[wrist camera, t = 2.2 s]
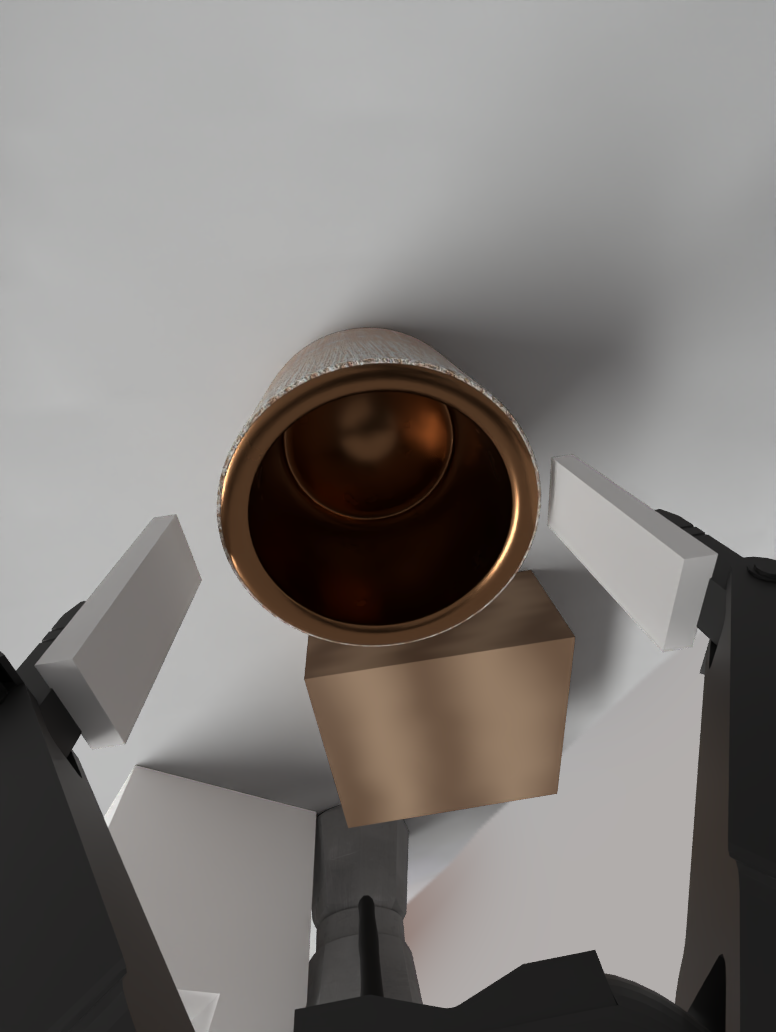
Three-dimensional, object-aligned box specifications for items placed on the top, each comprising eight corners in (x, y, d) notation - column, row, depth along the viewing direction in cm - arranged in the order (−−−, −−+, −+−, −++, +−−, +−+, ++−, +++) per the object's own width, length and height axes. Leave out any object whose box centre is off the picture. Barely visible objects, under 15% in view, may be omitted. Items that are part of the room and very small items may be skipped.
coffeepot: (401, 864, 43) (435, 1198, 27) (305, 870, 42) (282, 1222, 26) (420, 767, 36) (480, 1140, 20) (304, 771, 35) (273, 1170, 19)
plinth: (530, 570, 28) (575, 636, 22) (524, 715, 34) (557, 793, 29) (311, 603, 27) (304, 679, 22) (347, 743, 34) (348, 828, 29)
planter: (230, 352, 20) (151, 398, 12) (459, 303, 20) (543, 316, 12) (296, 546, 25) (273, 675, 17) (479, 508, 25) (547, 618, 17)
